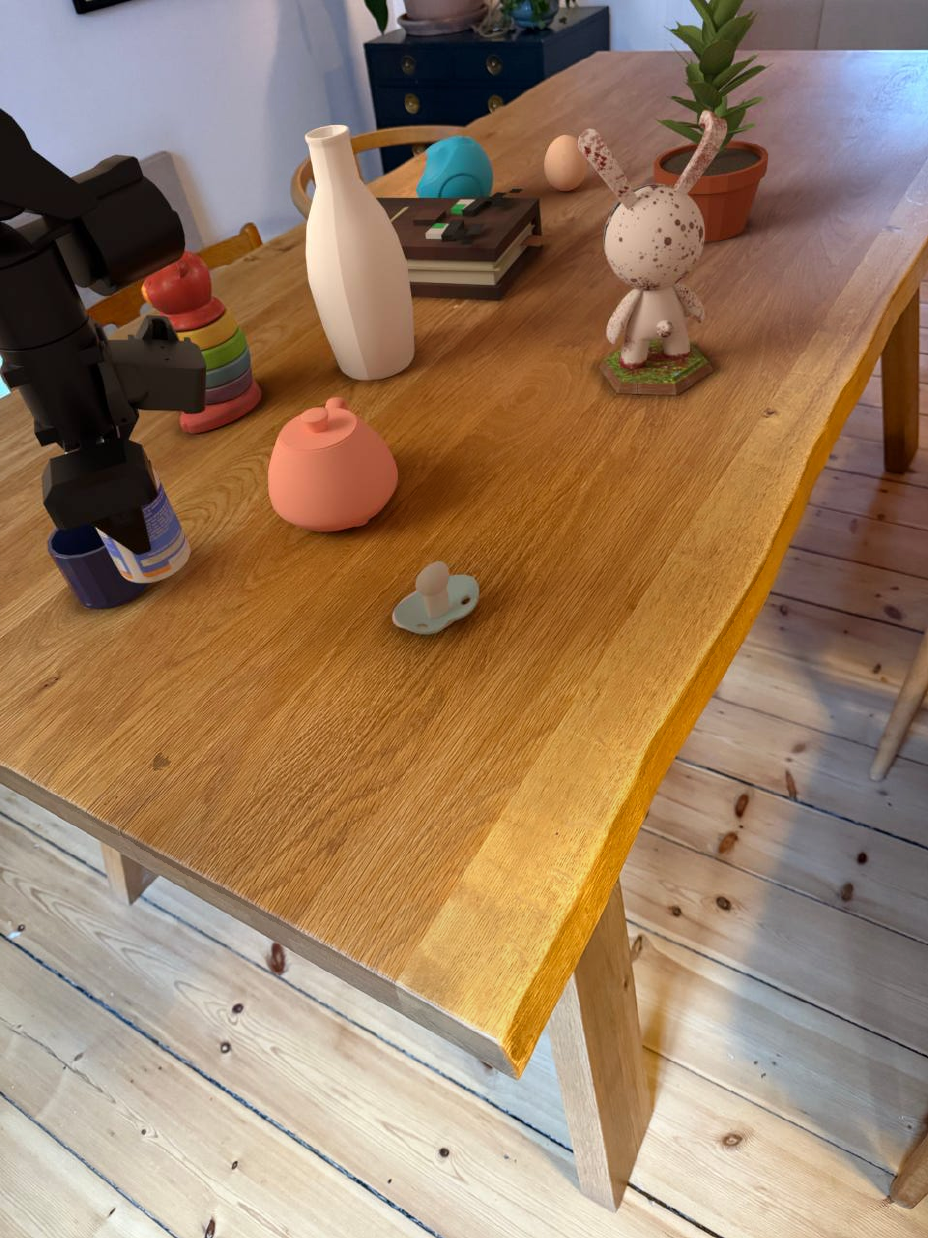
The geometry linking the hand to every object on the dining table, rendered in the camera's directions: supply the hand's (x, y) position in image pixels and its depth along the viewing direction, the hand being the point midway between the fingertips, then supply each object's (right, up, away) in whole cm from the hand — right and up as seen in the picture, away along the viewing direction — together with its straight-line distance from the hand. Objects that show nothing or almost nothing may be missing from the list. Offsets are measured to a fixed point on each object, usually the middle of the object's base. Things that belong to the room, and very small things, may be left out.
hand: (140, 530), depth 65 cm
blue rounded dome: (+23, +55, +73) cm, 95 cm away
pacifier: (+21, -6, +9) cm, 24 cm away
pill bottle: (+1, -2, +2) cm, 3 cm away
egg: (+40, +61, +76) cm, 106 cm away
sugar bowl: (+12, +5, +22) cm, 26 cm away
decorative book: (+20, +42, +60) cm, 76 cm away
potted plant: (+57, +47, +58) cm, 94 cm away
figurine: (+44, +21, +32) cm, 58 cm away
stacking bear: (-5, +19, +40) cm, 44 cm away
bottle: (+13, +24, +42) cm, 50 cm away
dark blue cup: (-9, -3, +17) cm, 20 cm away
